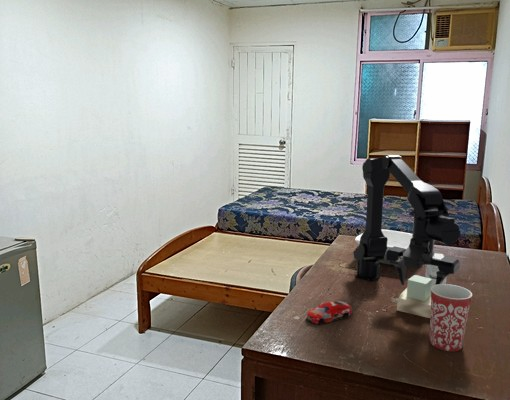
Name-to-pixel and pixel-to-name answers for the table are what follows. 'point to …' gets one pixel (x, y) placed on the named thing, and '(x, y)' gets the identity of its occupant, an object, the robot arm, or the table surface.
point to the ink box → (434, 270)
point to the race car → (329, 312)
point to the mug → (448, 316)
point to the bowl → (393, 241)
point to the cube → (419, 287)
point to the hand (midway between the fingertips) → (418, 288)
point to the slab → (414, 305)
